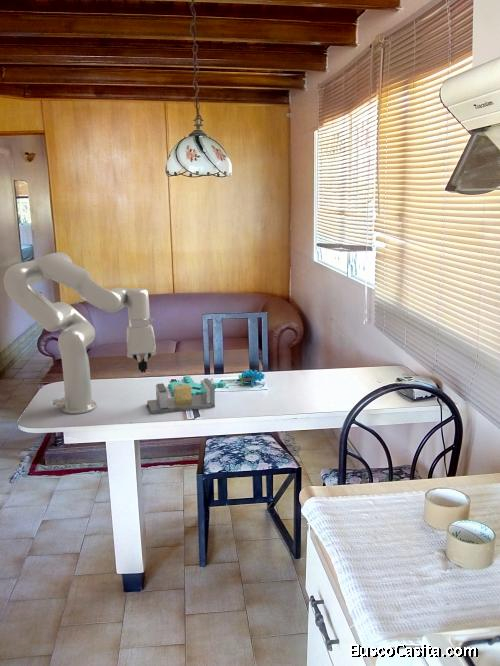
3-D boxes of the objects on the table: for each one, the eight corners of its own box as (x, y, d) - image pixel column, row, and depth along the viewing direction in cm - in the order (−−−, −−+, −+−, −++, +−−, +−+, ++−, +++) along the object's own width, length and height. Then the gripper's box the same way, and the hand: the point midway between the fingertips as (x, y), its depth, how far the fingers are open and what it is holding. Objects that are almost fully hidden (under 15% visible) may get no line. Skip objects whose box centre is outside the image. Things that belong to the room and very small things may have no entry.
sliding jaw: (160, 408, 206) (159, 391, 204) (156, 399, 215) (155, 383, 213) (168, 407, 206) (167, 390, 205) (164, 398, 216) (163, 382, 214)
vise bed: (151, 414, 204) (150, 393, 203) (147, 404, 215) (146, 384, 213) (214, 407, 211) (214, 387, 210) (208, 397, 222) (207, 378, 220)
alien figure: (186, 380, 244) (158, 394, 227) (186, 375, 244) (158, 389, 226) (225, 387, 235) (200, 402, 218) (225, 382, 234) (199, 396, 217)
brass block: (176, 404, 210) (175, 389, 209) (174, 400, 214) (173, 385, 213) (191, 402, 212) (191, 387, 211) (189, 398, 216) (189, 384, 214)
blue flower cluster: (267, 378, 240) (261, 367, 231) (266, 390, 236) (260, 380, 228) (242, 379, 242) (236, 369, 234) (241, 392, 239) (235, 381, 231)
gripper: (158, 319, 207) (161, 366, 211) (117, 322, 202) (121, 370, 207) (162, 323, 200) (164, 372, 204) (119, 326, 195) (123, 376, 200)
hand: (143, 371), depth 205 cm, fingers closed
